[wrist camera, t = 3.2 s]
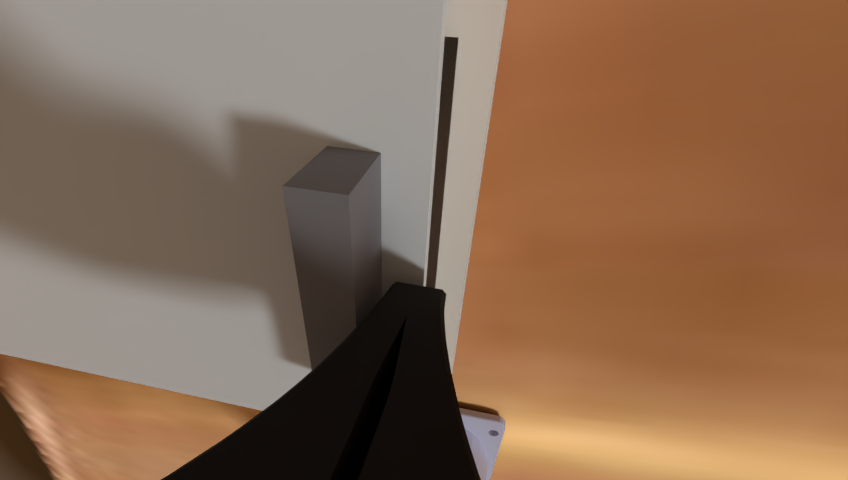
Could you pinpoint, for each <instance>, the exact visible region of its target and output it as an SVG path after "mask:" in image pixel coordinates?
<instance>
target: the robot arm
mask: <svg viewBox="0 0 848 480" xmlns="http://www.w3.org/2000/svg"><path fill="white" fill-rule="evenodd" d="M445 301H446V293H445V292H444V291H443V290H442V289H437V288H431V287H425V286H419V285H414V284H408V283H402V282H395V283H394V284H392V286H391V287H390V288H389V290H388V291H387V292H386V293H385V295H384V296H383V297H382V298H381V300H380V301H379V302H378V303H377V305H376V306H375V307H374V308H373V309H372V310H371V311H370V313H369V314H368V315H367V316H366V317H365V318H364V319H363V320H362V322H361V323H360V324H359V325H358V326H357V327H356V328H355V329H354V330H353V331H352V332H351V333H350V334H349V335H348V336H347V337H346V339H345V340H344V341H343V342H342V343H341V344H340V345H339V346H338V347H336V348H335V349H334V350H333V351H332V352H331V353H330V354H329V355H328V356H327V357H326V358H325V359H324V360H323V361H322V362H321V363H320V364H319V365H318V366H316V367H315V368H314V369H313V370H312V371H311V372H310V373H309V374H308V375H306V376H305V377H304V378H303V379H302V380H301V381H299V382H298V383H297V384H296V385H295V386H294V387H292V388H291V389H290V390H289V391H287V392H286V393H285V394H284V395H283V396H281V397H280V398H279V399H278V400H276V401H275V402H274V403H272V404H271V405H270V406H268V407H267V408H266V409H264V410H263V411H262V412H261V413H259V414H258V415H257V416H255V417H254V418H253V419H251V420H250V421H249V422H247V423H246V424H245V425H243V426H242V427H240V428H239V429H238V430H236V431H235V432H233V433H232V434H230V435H229V436H228V437H226V438H225V439H223V440H222V441H220V442H219V443H217V444H216V445H214V446H213V447H211V448H209V449H208V450H206V451H205V452H203V453H202V454H200V455H199V456H197V457H196V458H194V459H193V460H191V461H190V462H188V463H186V464H185V465H183V466H182V467H180V468H179V469H177V470H176V471H174V472H173V473H171V474H169V475H168V476H166V477H165V478H163V479H161V480H490V477H491V474H492V470H493V467H494V464H495V460H496V457H497V454H498V450H499V447H500V444H501V440H502V437H503V434H504V430H505V420H504V419H503V418H502V417H500V416H497V415H493V414H488V413H483V412H478V411H473V410H468V409H463V408H459V405H458V401H457V397H456V392H455V388H454V383H453V379H452V374H451V368H450V362H449V356H448V350H447V343H446V334H445V320H444V309H445Z"/></svg>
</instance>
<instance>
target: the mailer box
mask: <svg viewBox="0 0 848 480" xmlns="http://www.w3.org/2000/svg"><path fill="white" fill-rule="evenodd" d="M507 2H508V0H448V1H447V14H446V27H445V40H444V53H443V67H442V80H441V93H440V106H439V119H438V133H437V146H436V159H435V172H434V185H433V199H432V212H431V225H430V238H429V251H428V265H427V278H426V287H431V288H437V289H442V290H443V291H444V292H445V293H446V301H445V309H444V320H445V334H446V343H447V350H448V356H449V362H450V368H451V374H452V371H453V365H454V358H455V352H456V345H457V339H458V332H459V325H460V318H461V312H462V305H463V298H464V291H465V285H466V278H467V271H468V264H469V258H470V251H471V244H472V237H473V231H474V224H475V217H476V211H477V204H478V197H479V190H480V184H481V177H482V170H483V163H484V157H485V150H486V143H487V136H488V130H489V123H490V116H491V109H492V103H493V96H494V89H495V82H496V76H497V69H498V62H499V56H500V49H501V42H502V35H503V29H504V22H505V15H506V8H507Z"/></svg>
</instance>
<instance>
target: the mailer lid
mask: <svg viewBox="0 0 848 480" xmlns="http://www.w3.org/2000/svg"><path fill="white" fill-rule="evenodd" d="M447 1H448V0H0V354H4V355H8V356H13V357H17V358H22V359H27V360H31V361H36V362H40V363H45V364H50V365H54V366H59V367H63V368H68V369H72V370H77V371H82V372H86V373H91V374H95V375H100V376H105V377H109V378H114V379H118V380H123V381H128V382H132V383H137V384H141V385H146V386H150V387H155V388H160V389H164V390H169V391H173V392H178V393H183V394H187V395H192V396H196V397H201V398H206V399H210V400H215V401H219V402H224V403H228V404H233V405H238V406H242V407H247V408H251V409H256V410H261V411H263V410H264V409H266V408H267V407H268V406H270V405H271V404H272V403H274V402H275V401H276V400H278V399H279V398H280V397H281V396H283V395H284V394H285V393H286V392H287V391H289V390H290V389H291V388H292V387H294V386H295V385H296V384H297V383H298V382H299V381H301V380H302V379H303V378H304V377H305V376H306V375H308V374H309V373H310V372H311V371H312V370H313V369H314V368H315V367H316V366H318V365H319V364H320V363H321V362H322V361H323V360H324V359H325V358H326V357H327V356H328V355H329V354H330V353H331V352H332V351H333V350H334V349H335V348H336V347H338V346H339V345H340V344H341V343H342V342H343V341H344V340H345V339H346V337H347V336H348V335H349V334H350V333H351V332H352V331H353V330H354V329H355V328H356V327H357V326H358V325H359V324H360V323H361V322H362V320H363V319H364V318H365V317H366V316H367V315H368V314H369V313H370V311H371V310H372V309H373V308H374V307H375V306H376V305H377V303H378V302H379V301H380V300H381V298H382V297H383V296H384V295H385V293H386V292H387V291H388V290H389V288H390V287H391V286H392V284H394V283H395V282H402V283H408V284H414V285H419V286H425V287H426V278H427V265H428V251H429V238H430V225H431V212H432V199H433V185H434V172H435V159H436V146H437V133H438V119H439V106H440V93H441V80H442V67H443V53H444V40H445V27H446V14H447Z"/></svg>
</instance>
